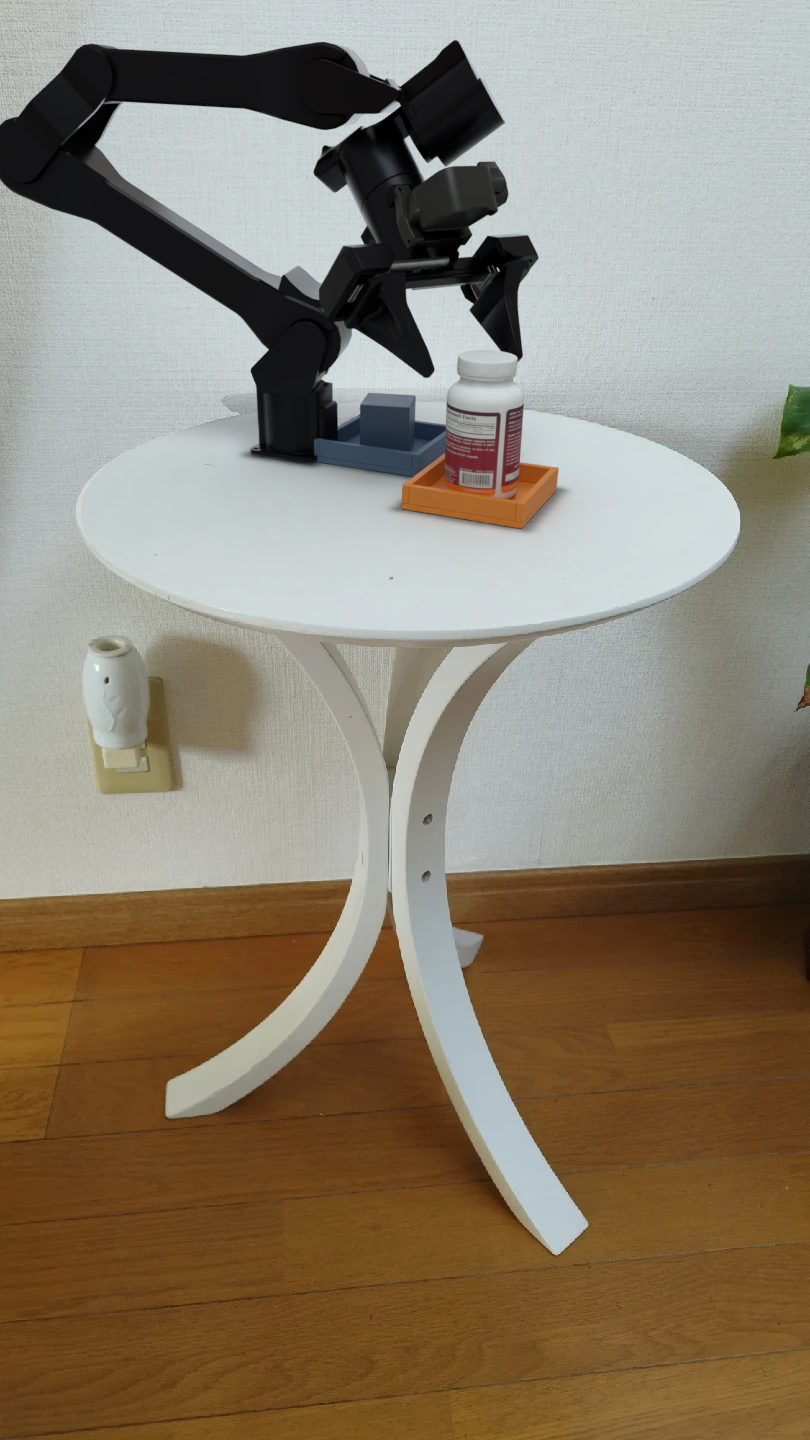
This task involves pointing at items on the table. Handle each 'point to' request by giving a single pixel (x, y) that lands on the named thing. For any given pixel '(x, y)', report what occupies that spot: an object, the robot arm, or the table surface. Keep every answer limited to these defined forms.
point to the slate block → (388, 421)
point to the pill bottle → (484, 425)
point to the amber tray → (480, 496)
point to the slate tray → (382, 449)
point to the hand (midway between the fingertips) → (475, 367)
